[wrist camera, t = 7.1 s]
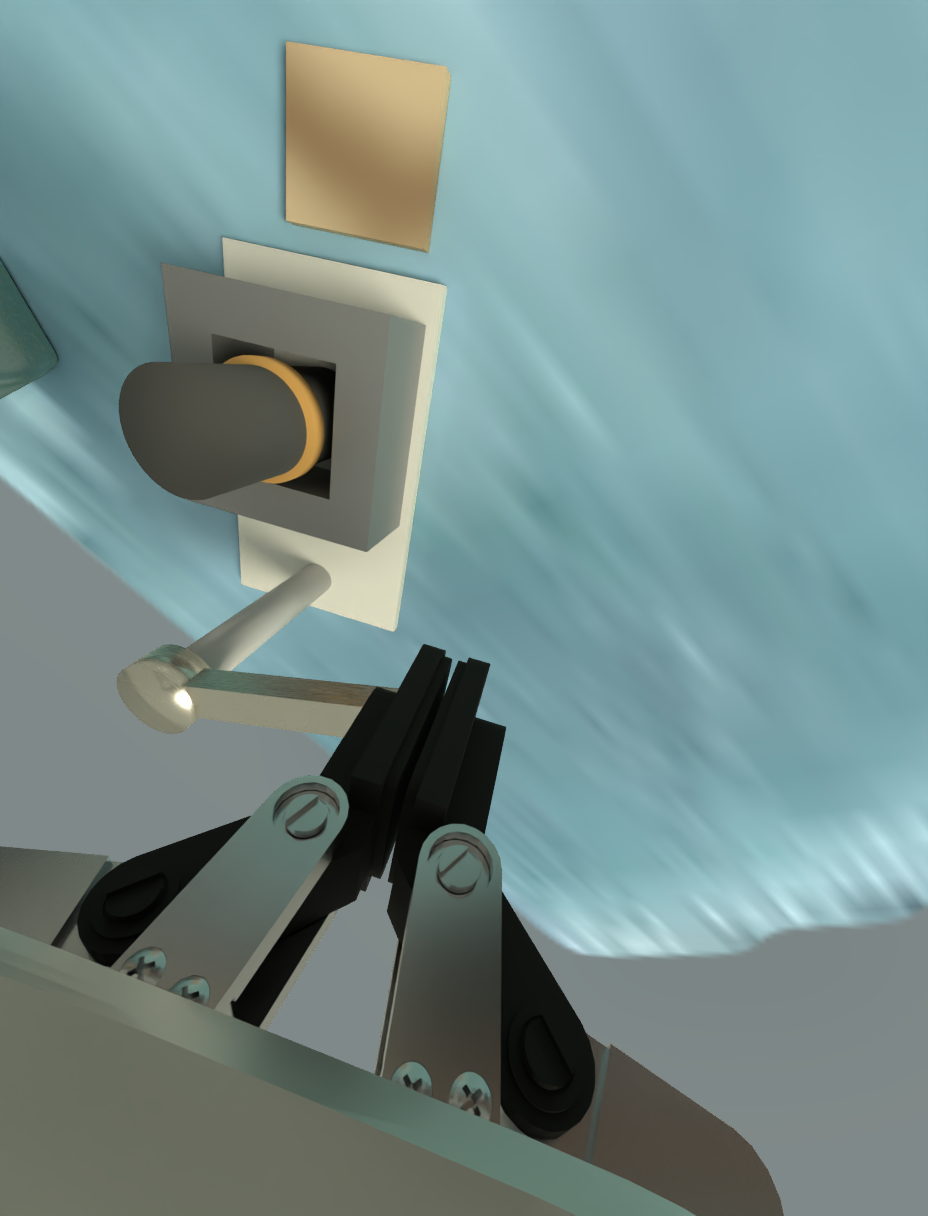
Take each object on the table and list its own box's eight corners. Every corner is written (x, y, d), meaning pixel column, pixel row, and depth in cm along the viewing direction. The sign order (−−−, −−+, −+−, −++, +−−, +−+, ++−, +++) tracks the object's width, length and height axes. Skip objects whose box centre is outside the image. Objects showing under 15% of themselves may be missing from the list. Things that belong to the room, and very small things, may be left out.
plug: (280, 348, 21) (96, 334, 13) (372, 371, 20) (239, 369, 12) (280, 450, 23) (124, 489, 15) (363, 473, 23) (246, 525, 15)
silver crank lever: (167, 703, 19) (122, 739, 17) (140, 641, 17) (87, 672, 15) (475, 743, 15) (460, 792, 14) (470, 671, 14) (453, 715, 12)
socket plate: (231, 240, 20) (-53, 134, 11) (447, 287, 19) (322, 209, 10) (247, 580, 28) (93, 673, 19) (397, 626, 27) (305, 748, 18)
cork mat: (295, 51, 16) (285, 41, 16) (451, 76, 16) (446, 66, 15) (294, 224, 19) (286, 220, 18) (428, 252, 18) (424, 249, 18)
